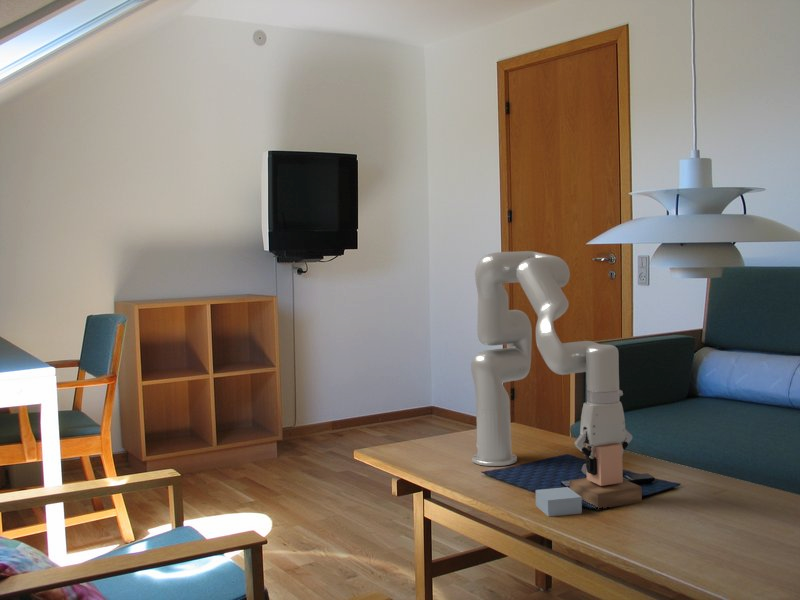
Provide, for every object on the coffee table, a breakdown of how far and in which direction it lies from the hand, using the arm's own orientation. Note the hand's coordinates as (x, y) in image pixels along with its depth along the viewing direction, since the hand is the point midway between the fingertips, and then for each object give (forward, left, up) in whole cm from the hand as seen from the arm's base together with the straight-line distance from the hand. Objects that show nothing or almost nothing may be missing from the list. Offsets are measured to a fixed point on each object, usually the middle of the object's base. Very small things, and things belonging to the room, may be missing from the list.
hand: (604, 471), depth 192 cm
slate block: (+2, -14, -7) cm, 16 cm away
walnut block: (0, 0, -7) cm, 7 cm away
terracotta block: (0, 0, -2) cm, 2 cm away
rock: (-16, +10, -7) cm, 21 cm away
